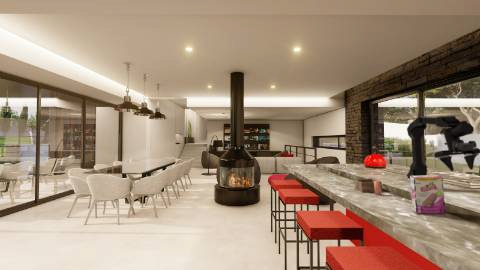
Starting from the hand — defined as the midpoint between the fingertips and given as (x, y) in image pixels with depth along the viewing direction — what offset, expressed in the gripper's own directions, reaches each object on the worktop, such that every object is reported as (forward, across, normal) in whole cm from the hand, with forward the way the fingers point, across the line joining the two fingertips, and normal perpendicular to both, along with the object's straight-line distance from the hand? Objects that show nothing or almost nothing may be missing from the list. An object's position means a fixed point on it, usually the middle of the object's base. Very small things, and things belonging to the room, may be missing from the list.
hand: (462, 170), depth 124 cm
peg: (+9, -29, +29) cm, 42 cm away
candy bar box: (+18, -26, -7) cm, 32 cm away
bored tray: (+5, -28, +43) cm, 51 cm away
